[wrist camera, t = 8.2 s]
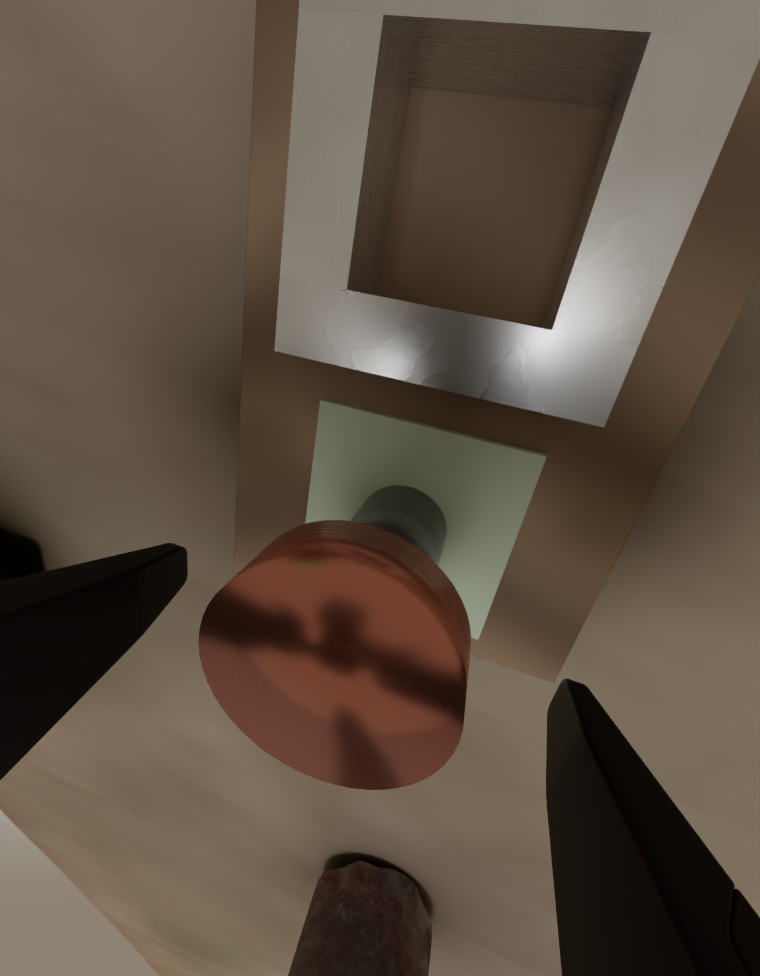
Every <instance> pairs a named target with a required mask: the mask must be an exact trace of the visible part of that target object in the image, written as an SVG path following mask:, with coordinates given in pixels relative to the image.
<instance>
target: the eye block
mask: <svg viewBox="0 0 760 976" xmlns="http://www.w3.org/2000/svg"><path fill="white" fill-rule="evenodd" d="M759 59H760V0H299V14H298V28H297V42H296V56H295V70H294V84H293V98H292V112H291V126H290V140H289V154H288V168H287V182H286V196H285V210H284V224H283V238H282V252H281V266H280V280H279V294H278V308H277V322H276V336H275V350H274V351H277V352H281V353H285V354H290V355H294V356H298V357H302V358H307V359H311V360H315V361H320V362H324V363H328V364H333V365H337V366H341V367H346V368H350V369H354V370H358V371H363V372H367V373H371V374H376V375H380V376H384V377H389V378H393V379H397V380H401V381H406V382H410V383H414V384H419V385H423V386H427V387H432V388H436V389H440V390H444V391H449V392H453V393H457V394H462V395H466V396H470V397H475V398H479V399H483V400H487V401H492V402H496V403H500V404H505V405H509V406H513V407H518V408H522V409H526V410H530V411H535V412H539V413H543V414H548V415H552V416H556V417H561V418H565V419H569V420H573V421H578V422H582V423H586V424H591V425H595V426H599V427H604V426H605V424H606V422H607V419H608V417H609V415H610V412H611V410H612V408H613V405H614V403H615V400H616V398H617V396H618V393H619V391H620V389H621V386H622V384H623V381H624V379H625V377H626V374H627V372H628V370H629V367H630V365H631V363H632V360H633V358H634V355H635V353H636V351H637V348H638V346H639V344H640V341H641V339H642V336H643V334H644V332H645V329H646V327H647V325H648V322H649V320H650V317H651V315H652V313H653V310H654V308H655V306H656V303H657V301H658V299H659V296H660V294H661V291H662V289H663V287H664V284H665V282H666V280H667V277H668V275H669V272H670V270H671V268H672V265H673V263H674V261H675V258H676V256H677V253H678V251H679V249H680V246H681V244H682V242H683V239H684V237H685V235H686V232H687V230H688V227H689V225H690V223H691V220H692V218H693V216H694V213H695V211H696V208H697V206H698V204H699V201H700V199H701V197H702V194H703V192H704V190H705V187H706V185H707V182H708V180H709V178H710V175H711V173H712V171H713V168H714V166H715V163H716V161H717V159H718V156H719V154H720V152H721V149H722V147H723V144H724V142H725V140H726V137H727V135H728V133H729V130H730V128H731V126H732V123H733V121H734V118H735V116H736V114H737V111H738V109H739V107H740V104H741V102H742V99H743V97H744V95H745V92H746V90H747V88H748V85H749V83H750V81H751V78H752V76H753V73H754V71H755V69H756V66H757V64H758V62H759ZM411 88H417V89H427V90H437V91H447V92H457V93H468V94H478V95H488V96H498V97H508V98H518V99H528V100H539V101H549V102H559V103H569V104H579V105H589V106H599V107H609V108H613V109H612V112H611V115H610V118H609V121H608V124H607V128H606V131H605V134H604V137H603V140H602V143H601V146H600V149H599V152H598V155H597V158H596V162H595V165H594V168H593V171H592V174H591V177H590V180H589V183H588V186H587V189H586V193H585V196H584V199H583V202H582V205H581V208H580V211H579V214H578V217H577V220H576V223H575V227H574V230H573V233H572V236H571V239H570V242H569V245H568V248H567V251H566V254H565V257H564V261H563V264H562V267H561V270H560V273H559V276H558V279H557V282H556V285H555V288H554V292H553V295H552V298H551V301H550V304H549V307H548V310H547V313H546V316H545V319H544V322H543V326H542V328H539V327H534V326H529V325H524V324H519V323H514V322H508V321H503V320H498V319H493V318H488V317H483V316H478V315H473V314H468V313H463V312H457V311H452V310H447V309H442V308H437V307H432V306H427V305H422V304H417V303H412V302H406V301H401V300H396V299H391V298H386V297H381V296H377V293H378V286H379V280H380V274H381V268H382V262H383V256H384V249H385V243H386V237H387V231H388V225H389V219H390V212H391V206H392V200H393V194H394V188H395V182H396V175H397V169H398V163H399V157H400V151H401V145H402V138H403V132H404V126H405V120H406V114H407V108H408V101H409V95H410V89H411Z"/></svg>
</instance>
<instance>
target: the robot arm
mask: <svg viewBox="0 0 760 976" xmlns="http://www.w3.org/2000/svg"><path fill="white" fill-rule="evenodd" d="M187 575H188V569H187V551H186V549H185V548H184V547H182V546H179V545H176V544H173V543H167V544H162V545H158V546H154V547H150V548H145V549H141V550H137V551H132V552H128V553H124V554H119V555H115V556H111V557H106V558H102V559H98V560H93V561H89V562H85V563H80V564H76V565H72V566H68V567H63V568H59V569H55V570H50V571H46V572H41V567H40V562H39V557H38V552H37V549H36V547H35V545H34V544H33V543H32V542H30V541H28V540H26V539H23V538H20V537H18V536H15V535H12V534H9V533H7V532H4V531H1V530H0V780H1V779H2V778H3V777H4V776H5V775H6V774H7V773H8V772H9V771H10V770H11V769H12V768H13V767H14V766H15V765H16V764H17V763H18V762H19V761H20V760H21V759H22V758H23V757H24V756H25V755H26V754H27V753H28V752H29V750H30V749H31V748H32V747H33V746H34V745H35V744H36V743H37V742H38V741H39V740H40V739H41V738H42V737H43V736H44V735H45V734H46V733H47V732H48V731H49V730H50V729H51V728H52V727H53V726H54V725H55V724H56V723H57V722H58V721H59V720H60V719H61V718H62V717H63V716H64V715H65V714H66V713H67V712H68V711H69V710H70V709H71V708H72V707H73V706H74V705H75V704H76V703H77V702H78V701H79V700H80V699H81V697H82V696H83V695H84V694H85V693H86V692H87V691H88V690H89V689H90V688H91V687H92V686H93V685H94V684H95V683H96V682H97V681H98V680H99V679H100V678H101V677H102V676H103V675H104V674H105V673H106V672H107V671H108V670H109V669H110V668H111V667H112V666H113V665H114V664H115V663H116V662H117V661H118V660H119V659H120V658H121V657H122V656H123V655H124V654H125V653H126V652H127V651H128V650H129V649H130V648H131V647H132V646H133V645H134V643H135V642H136V641H137V640H138V639H139V638H140V637H141V636H142V635H143V634H144V633H145V631H146V630H147V629H148V628H149V627H150V626H151V624H152V623H153V622H154V621H155V619H156V618H157V617H158V616H159V615H160V613H161V612H162V611H163V610H164V608H165V607H166V606H167V605H168V603H169V602H170V601H171V600H172V599H173V597H174V596H175V595H176V594H177V592H178V591H179V590H180V589H181V588H182V586H183V585H184V583H185V582H186V579H187ZM546 798H547V812H548V823H549V834H550V846H551V857H552V868H553V879H554V890H555V901H556V912H557V924H558V935H559V946H560V957H561V968H562V976H760V917H759V916H758V915H757V913H756V912H755V911H754V909H753V908H752V907H751V905H750V904H749V903H748V901H747V900H746V899H745V897H744V896H743V895H742V893H741V892H740V891H739V890H738V889H734V887H735V886H734V883H733V881H732V880H731V879H730V877H729V876H728V875H727V873H726V872H725V871H724V869H723V868H722V867H721V865H720V864H719V863H718V861H717V860H716V859H715V857H714V856H713V855H712V853H711V852H710V851H709V849H708V848H707V847H706V845H705V844H704V843H703V841H702V840H701V838H700V837H699V836H698V834H697V833H696V832H695V830H694V829H693V828H692V826H691V825H690V824H689V822H688V821H687V820H686V818H685V817H684V816H683V814H682V813H681V812H680V810H679V809H678V808H677V806H676V805H675V804H674V802H673V801H672V800H671V798H670V797H669V796H668V794H667V793H666V792H665V790H664V789H663V788H662V786H661V785H660V784H659V782H658V781H657V780H656V778H655V777H654V776H653V774H652V773H651V771H650V770H649V769H648V767H647V766H646V765H645V763H644V762H643V761H642V759H641V758H640V757H639V755H638V754H637V753H636V751H635V750H634V749H633V747H632V746H631V745H630V743H629V742H628V741H627V739H626V738H625V737H624V735H623V734H622V733H621V731H620V730H619V729H618V727H617V726H616V725H615V723H614V722H613V721H612V719H611V718H610V717H609V715H608V714H607V713H606V711H605V710H604V709H603V707H602V706H601V704H600V703H599V702H598V700H597V699H596V698H595V696H594V695H593V694H592V692H591V691H590V690H589V688H588V687H587V686H586V685H584V684H582V683H579V682H576V681H573V680H570V679H564V680H563V681H562V682H561V683H560V685H559V687H558V689H557V691H556V693H555V695H554V697H553V699H552V701H551V703H550V705H549V708H548V714H547V760H546Z"/></svg>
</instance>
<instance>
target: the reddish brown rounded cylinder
mask: <svg viewBox="0 0 760 976" xmlns="http://www.w3.org/2000/svg"><path fill="white" fill-rule="evenodd" d="M445 538H446V522H445V518H444V516H443V513H442V511H441V509H440V508H439V506H438V505H437V504H436V503H435V502H434V500H433V499H431V498H430V497H429V496H428V495H426V494H425V493H423V492H422V491H420V490H418V489H415V488H412V487H408V486H401V485H393V486H387V487H384V488H381V489H379V490H377V491H376V492H374V493H373V494H371V495H370V496H369V497H368V498H367V500H366V501H365V502H364V503H363V505H362V506H361V507H360V508H359V510H358V511H357V512H356V513H355V515H354V516H353V517H352V519H351V520H350V521H345V520H323V521H316V522H310V523H306V524H303V525H300V526H297V527H295V528H292V529H290V530H288V531H286V532H284V533H283V534H281V535H280V536H279V537H277V538H276V539H274V540H273V541H272V542H271V543H270V544H269V545H268V546H267V547H266V548H265V549H264V550H263V551H262V552H260V553H259V554H258V555H257V556H256V557H255V558H254V559H253V560H252V561H251V562H250V563H249V564H248V565H247V566H245V567H244V568H243V569H242V570H241V571H240V572H239V573H238V574H237V575H236V576H235V577H234V578H233V579H232V580H230V581H229V582H228V583H227V584H226V585H225V586H224V587H223V588H222V589H221V590H220V591H219V592H218V593H217V594H216V595H215V596H214V597H213V599H212V600H211V602H210V603H209V605H208V606H207V608H206V611H205V613H204V615H203V618H202V622H201V626H200V631H199V652H200V658H201V663H202V667H203V670H204V673H205V676H206V679H207V682H208V684H209V686H210V688H211V690H212V692H213V694H214V696H215V697H216V699H217V700H218V702H219V704H220V705H221V707H222V708H223V710H224V711H225V712H226V713H227V715H228V716H229V717H230V719H231V720H232V721H233V722H234V723H235V724H236V725H237V727H238V728H239V729H240V730H241V731H242V732H243V733H244V734H245V735H246V736H248V737H249V738H250V739H251V740H252V741H253V742H254V743H255V744H257V745H258V746H259V747H260V748H262V749H263V750H264V751H266V752H267V753H269V754H270V755H271V756H273V757H274V758H276V759H277V760H279V761H281V762H282V763H284V764H286V765H288V766H289V767H291V768H293V769H295V770H297V771H299V772H301V773H304V774H306V775H308V776H311V777H313V778H316V779H319V780H321V781H325V782H328V783H332V784H335V785H339V786H344V787H349V788H357V789H366V790H383V789H392V788H399V787H403V786H407V785H411V784H413V783H416V782H419V781H421V780H423V779H425V778H427V777H429V776H430V775H432V774H434V773H435V772H436V771H438V770H439V769H440V768H441V767H442V766H443V765H445V763H446V762H447V761H448V760H449V758H450V757H451V756H452V755H453V753H454V751H455V749H456V747H457V745H458V744H459V741H460V738H461V734H462V731H463V723H464V712H465V702H466V691H467V680H468V669H469V659H470V648H471V631H470V624H469V620H468V615H467V612H466V609H465V607H464V604H463V602H462V599H461V597H460V596H459V594H458V592H457V590H456V588H455V587H454V585H453V584H452V582H451V581H450V580H449V578H448V577H447V576H446V574H445V573H444V572H443V571H442V570H441V569H440V568H439V562H440V558H441V554H442V550H443V546H444V543H445Z"/></svg>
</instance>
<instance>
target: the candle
mask: <svg viewBox="0 0 760 976" xmlns="http://www.w3.org/2000/svg"><path fill="white" fill-rule="evenodd" d="M431 940H432V923H431V921H430V919H429V915H428V912H427V911H426V909H425V907H424V905H423V902H422V900H421V897H420V895H419V892H418V888H417V886H416V885H415V884H414V883H413V882H412V881H411V880H410V879H409V878H408V877H407V876H406V875H404V874H403V873H401V872H398V871H396V870H395V869H391V868H385V867H383V868H379V867H377V866H374V865H372V864H369V863H366V862H364V861H357V862H353V863H351V864H349V865H347V866H346V867H340V868H337V869H335V870H328V871H325V872H324V873H323V875H322V876H321V877H320V878H319V880H318V883H317V886H316V889H315V891H314V894H313V897H312V901H311V904H310V907H309V910H308V914H307V917H306V920H305V923H304V926H303V929H302V933H301V936H300V939H299V942H298V945H297V949H296V952H295V955H294V958H293V962H292V965H291V968H290V971H289V975H288V976H428V971H429V962H430V953H431Z"/></svg>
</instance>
